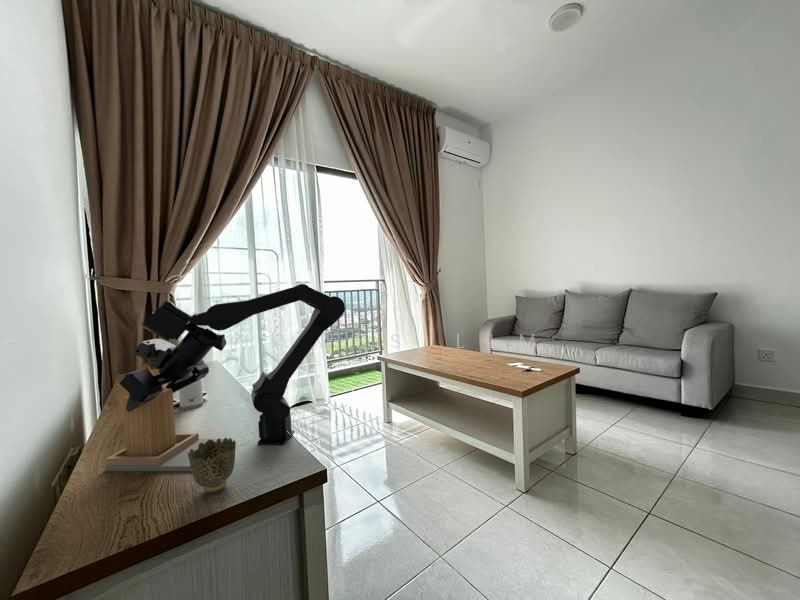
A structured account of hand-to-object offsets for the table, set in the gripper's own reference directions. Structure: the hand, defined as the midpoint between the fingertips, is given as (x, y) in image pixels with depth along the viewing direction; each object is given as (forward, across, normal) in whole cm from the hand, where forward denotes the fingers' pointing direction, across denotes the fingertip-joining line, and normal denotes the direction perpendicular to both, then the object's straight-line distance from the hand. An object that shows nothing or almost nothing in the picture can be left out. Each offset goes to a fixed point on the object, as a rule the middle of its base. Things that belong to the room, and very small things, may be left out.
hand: (146, 402), depth 72 cm
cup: (-8, +12, +25) cm, 29 cm away
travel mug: (+18, -31, -1) cm, 36 cm away
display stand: (+5, 0, +12) cm, 13 cm away
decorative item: (+8, 0, +8) cm, 11 cm away
